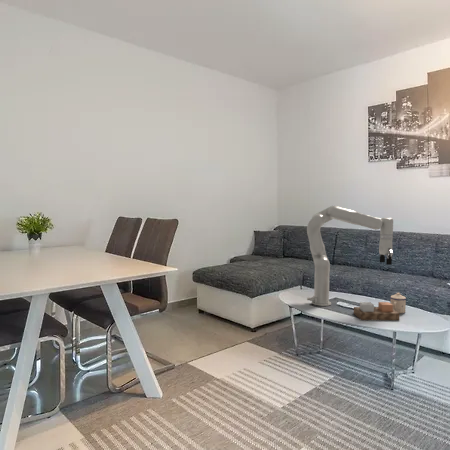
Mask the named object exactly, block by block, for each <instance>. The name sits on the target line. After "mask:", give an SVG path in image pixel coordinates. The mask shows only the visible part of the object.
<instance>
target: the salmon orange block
mask: <svg viewBox="0 0 450 450" xmlns="http://www.w3.org/2000/svg"><path fill="white" fill-rule="evenodd" d="M377 305H378V306H377V307H378V309H379V310H380V311H381V312H393V305H392V304H391V303H390V302H389V301H387V302H386V301H378V304H377Z"/></svg>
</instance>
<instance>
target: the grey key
mask: <svg viewBox="0 0 450 450" xmlns="http://www.w3.org/2000/svg"><path fill="white" fill-rule="evenodd" d="M359 307H360V310H361V311H363V312H374V307H375V304H374V303H372V302H370V301H361V302H359Z"/></svg>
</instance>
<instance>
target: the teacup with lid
mask: <svg viewBox="0 0 450 450" xmlns="http://www.w3.org/2000/svg"><path fill="white" fill-rule="evenodd" d="M389 298H390V302H389V303H391V304H392V305H393V309H394V310H395V311H397V312H398V313H400V314H404V313H406V304H407V302H406V301H407V297H406V296H404V295H402V294H401V292H396V293H395V294H392V295H391V296H390V297H389Z"/></svg>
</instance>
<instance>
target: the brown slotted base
mask: <svg viewBox="0 0 450 450" xmlns="http://www.w3.org/2000/svg"><path fill="white" fill-rule="evenodd" d="M400 314H401V313H398V312H397V311H395V310H394V309H393V312H381V311H380V310H379V309H378V306H374V312H363V311H361V310H360V306H353V315H355V316H356V317H357V318H358V319H359V320H360V321H400Z"/></svg>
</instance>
